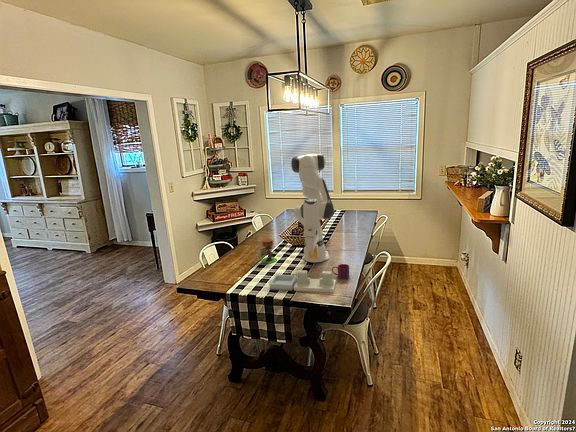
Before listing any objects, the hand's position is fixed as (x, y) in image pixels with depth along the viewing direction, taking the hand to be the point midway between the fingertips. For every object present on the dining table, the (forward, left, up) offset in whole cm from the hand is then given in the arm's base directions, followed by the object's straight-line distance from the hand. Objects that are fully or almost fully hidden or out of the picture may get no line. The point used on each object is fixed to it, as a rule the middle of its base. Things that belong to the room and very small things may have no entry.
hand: (313, 252), depth 178 cm
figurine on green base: (-37, -39, -21) cm, 57 cm away
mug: (-15, +13, -21) cm, 28 cm away
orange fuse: (0, 0, -3) cm, 3 cm away
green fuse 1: (0, -7, -18) cm, 20 cm away
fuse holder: (0, 0, -20) cm, 20 cm away
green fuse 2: (0, +7, -18) cm, 20 cm away
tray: (0, -18, -20) cm, 27 cm away
